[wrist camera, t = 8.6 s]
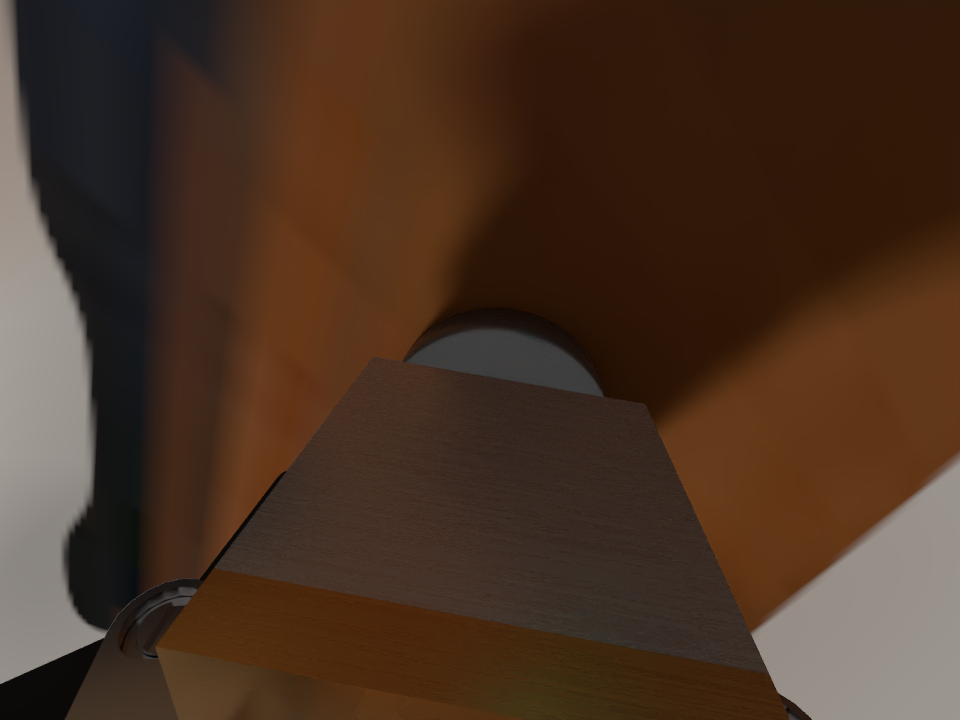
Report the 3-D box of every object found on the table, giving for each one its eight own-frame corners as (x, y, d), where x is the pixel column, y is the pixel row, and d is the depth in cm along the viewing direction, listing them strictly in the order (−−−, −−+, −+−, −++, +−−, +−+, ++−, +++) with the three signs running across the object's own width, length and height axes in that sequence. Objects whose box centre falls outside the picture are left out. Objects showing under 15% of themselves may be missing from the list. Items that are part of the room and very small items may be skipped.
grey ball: (574, 498, 15) (594, 648, 10) (391, 465, 15) (334, 599, 11) (629, 327, 12) (687, 433, 8) (402, 289, 12) (330, 371, 8)
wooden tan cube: (644, 404, 9) (815, 777, 4) (578, 585, 12) (620, 960, 6) (373, 356, 9) (155, 646, 4) (366, 546, 12) (230, 877, 6)
